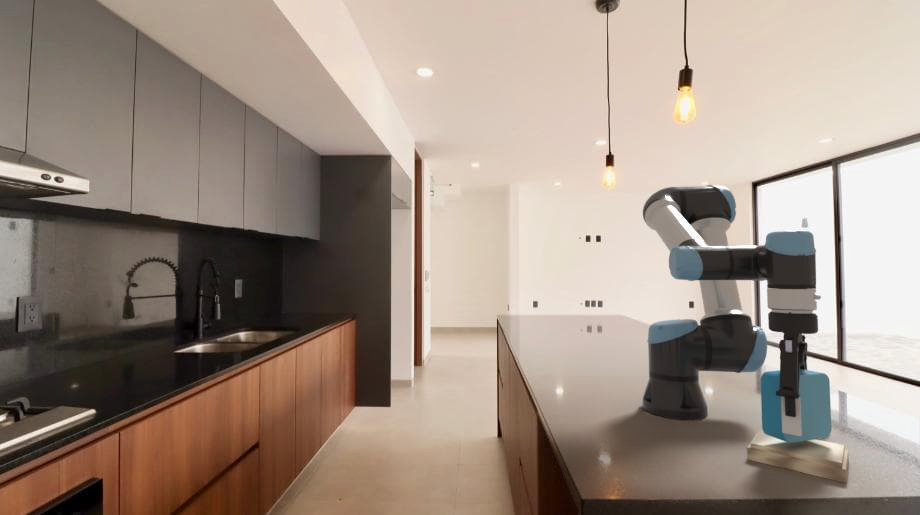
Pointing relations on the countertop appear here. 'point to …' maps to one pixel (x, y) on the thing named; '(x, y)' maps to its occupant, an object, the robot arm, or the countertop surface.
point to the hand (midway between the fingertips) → (796, 425)
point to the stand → (801, 456)
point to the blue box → (812, 406)
